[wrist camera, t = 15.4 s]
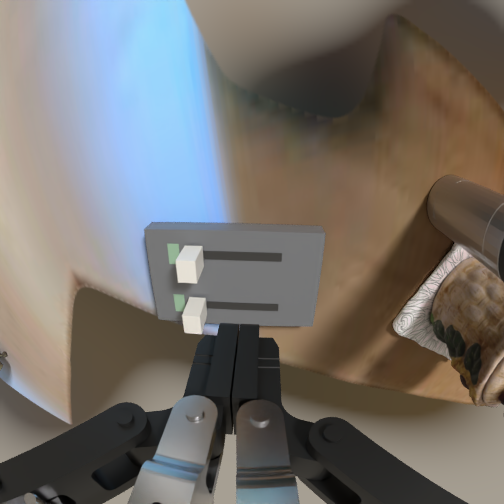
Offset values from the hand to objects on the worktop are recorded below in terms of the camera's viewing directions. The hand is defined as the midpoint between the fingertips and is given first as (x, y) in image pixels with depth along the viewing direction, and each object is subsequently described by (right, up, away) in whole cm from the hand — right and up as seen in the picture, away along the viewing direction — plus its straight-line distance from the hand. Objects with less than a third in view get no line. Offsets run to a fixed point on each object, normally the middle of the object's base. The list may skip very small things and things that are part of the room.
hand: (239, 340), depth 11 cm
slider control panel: (-2, +1, +32) cm, 32 cm away
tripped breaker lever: (-7, -4, +30) cm, 31 cm away
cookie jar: (+41, -5, +33) cm, 53 cm away
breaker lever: (-7, +3, +27) cm, 28 cm away
